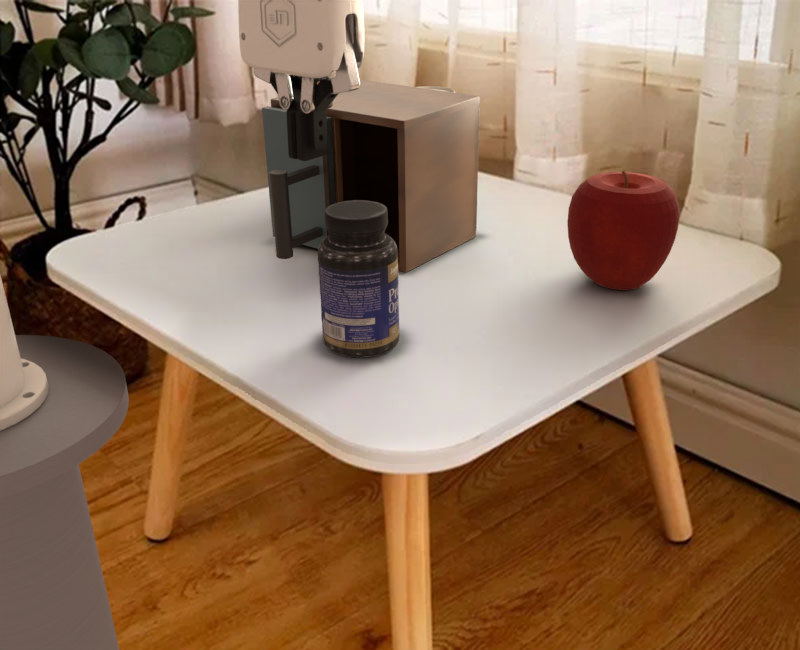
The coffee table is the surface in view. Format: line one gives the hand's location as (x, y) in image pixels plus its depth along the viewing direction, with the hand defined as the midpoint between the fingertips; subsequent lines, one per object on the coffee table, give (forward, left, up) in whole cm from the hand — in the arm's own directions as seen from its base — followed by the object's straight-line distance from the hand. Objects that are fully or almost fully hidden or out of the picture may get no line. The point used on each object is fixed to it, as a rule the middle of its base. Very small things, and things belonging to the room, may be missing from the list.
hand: (308, 156), depth 80 cm
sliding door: (+3, +7, -11) cm, 13 cm away
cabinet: (+13, +3, -12) cm, 18 cm away
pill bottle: (-7, -11, -12) cm, 18 cm away
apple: (+16, -22, -12) cm, 30 cm away
